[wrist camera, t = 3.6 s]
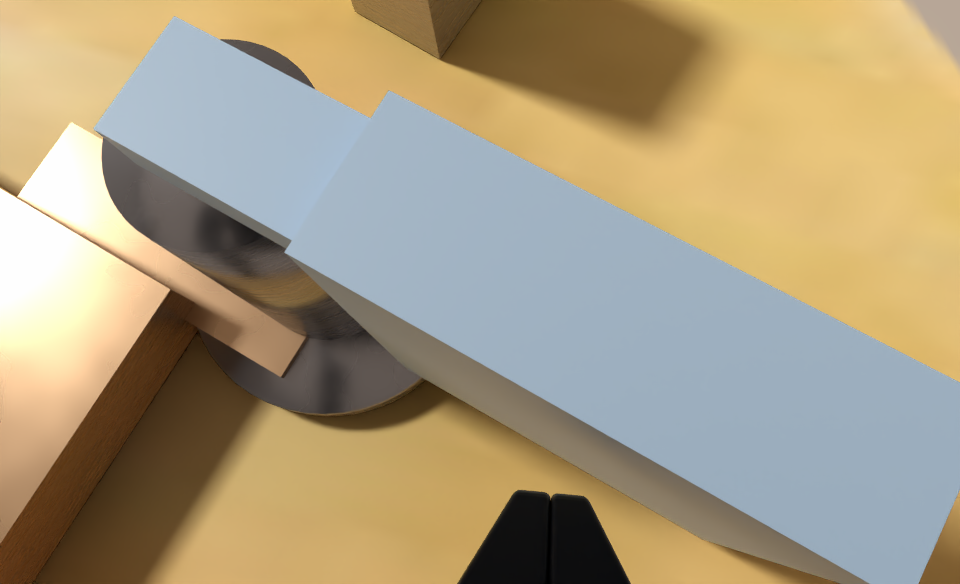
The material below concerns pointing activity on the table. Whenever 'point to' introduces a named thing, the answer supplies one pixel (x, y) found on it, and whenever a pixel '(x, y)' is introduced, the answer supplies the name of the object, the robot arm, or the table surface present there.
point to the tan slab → (145, 326)
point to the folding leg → (568, 315)
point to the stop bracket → (420, 20)
